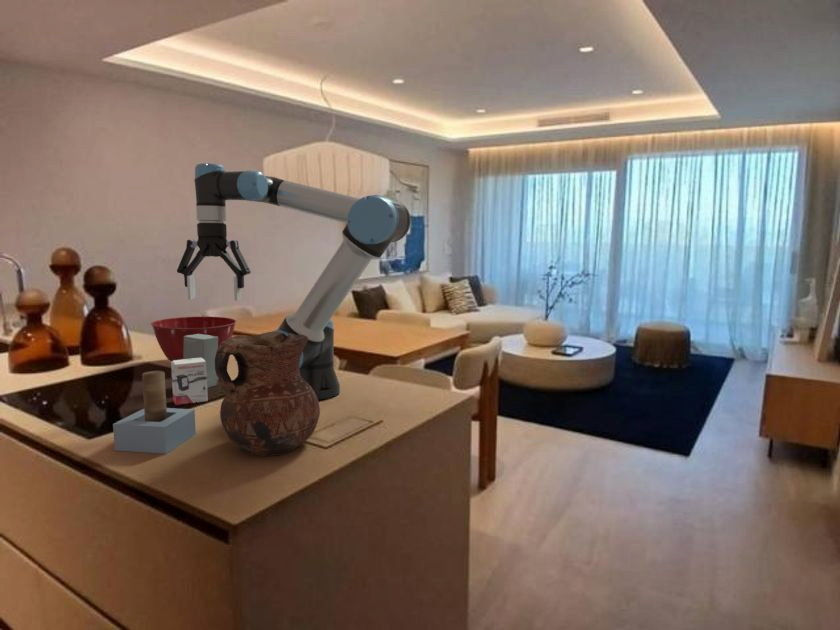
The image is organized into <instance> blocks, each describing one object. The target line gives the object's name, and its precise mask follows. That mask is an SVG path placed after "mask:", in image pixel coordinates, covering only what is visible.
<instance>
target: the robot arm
mask: <svg viewBox="0 0 840 630" xmlns="http://www.w3.org/2000/svg"><path fill="white" fill-rule="evenodd" d="M194 187H195V188H194V189H195V202H196V206H195V207H196V209H195V210H196V212H195V213H196V221H197V223H196V232H197V234H196V235H197V240H195V239H188V240H186V246H185V247H186V248H185V250H184V252H183V255H182V258H181V260H180V262H179V265H178V267H177V269H176V272H177V273H178V274H181V275H183V278H184V287H186V288H187V300H193V299H196V296H197V295H196V278H195V277H196V275H193V273H194V272H195V270H196V269H197V267H198V266H199V265H200V264H201V263H202V261H203V260H204V259H205V258H206V257H207V258H208V257H214V258H216V257H217V258H218V257H220V258H221V259H222V260H223V261H224V262H225V264H226V265H227V266H228V267H229V268H230V269H231V271H232V272H233V274H235V276H233V290H234V291H233V293H234V294H233V295H234V301H235V302H238V301H242V299H243V298H242V289H244V287H245V276H247V275H250V274H251V269H250V267H249V265H248V263H247V262H246V259H245V257H244V256H243V253H242V251H241V250H240V245H239V241H238V240H235V239H233V240H229V241H228V239H227V237H228V235H227V233H228V232H227V224H226V223H225V222H226V221H227V211H226V210H227V209H226V202H227V201H247V202H254V203H255V202H257V203H264V204H269V205H274V206H277V207H282V208H286V209H290V210H294V211H297V212H302V213H306V214H308V215H309V214H310V215H311V216H316V217H321V218H324V219H328V220H332V221H335V222H339V223H342V224H346V225H345V226H344V228H343V229H342V232H341V235H342V240H343V241H342V242H341V244H340V245H339V247H338V248H337V249H336V251H335V252H334V255H333V256H332V258H330V260H329V262H328V263H327V265H325V267H324V269H323V271H322V272H321V274H320V275H319V277H318V278H317V280H316V282H315V283H314V284H313V286H312V287H311V289H310V291H309V292H308V294H307V295H306V296H305V298H304V299H303V300H302V302H301V304H300V306H298V308H297V310H296V311H295V312H290V313H288V314H287V315H286V316H285V318H284V319H283V320H282V322H281V323H280V325H279V327H278V328H277V329H276V330H273V331H271V332H280V333H283V334H285V335H286V336H288V335H289V333H292V334H295V335H305V336H307V337H308V341H307V343H306V345H305V347H304V349H303V351H302V354H301V357H300V364H299V370H300V375H301V377H302V378H303V379H304V380H305V381H306V382H307V383H308V384H309V385H310V386H311V387H312V389H313V390H314V392H315V394H316V396H317V399H318V401H319V400H327V399H331V398H334V397H336V396H338V395H339V394H340V393H341V386H340V382H339V378H338V376H337V373H336V371H335V366H334V362H335V361H334V356H335V355H334V344H335V342H334V341H335V340H334V338H335V337H334V336H335V333H334V332H335V328H334V322H333V319H332V318H333V316H334V315H335V314H336V312H337V311H338V309H339V308H340V306H341V305H342V303H343V302H344V301H345V299H346V298H347V296H348V294H349V293H350V292H351V291H352V289H353V287H354V286H355V285H356V283H357V281H358V280H359V279H360V277H361V276H362V275H363V273H364V272H365V270H366V269H367V267H368V266H369V264H370V263H371V261H373V260H377V259H380V258H381V257H382V256H383V254H384V253H385V252H386V250H387V249H388V247H389V246H390V245H391V243H396V242H399V241H400V240H402V239H403V238H404V237H405V236H406V235H407V234H408V232H409V231H410V228H411V222H412V221H411V219H412V218H411V215H410V214H411V213H410V212H409V209H408V208H407V207H406V205H405V204H404V203H402V202H401V201H400V200H397V199H395V198H389V197H386V196H383V195H379V194H370V195H366V196H363V197H361V198H359V197H355V196H351V195H347V194H343V193H338V192H335V191H329V190H326V189H322V188H318V187H314V186H310V185H306V184H301V183H298V182H293V181H289V180H284V179H280V178H279V177H275V176H268V175H265V174H264V173H262V171H257V170H256V171H255V170H239V171H237V170H235V171H225V167H224V165H222V164H219V163H207V162H203V163H202V162H201V163H197V164H196V165H195V167H194ZM197 247H198V248H199V250H198V251H197V252H196V254H195V255H194V257H193V254H194V253H195V250H196V248H197ZM227 248H229V249H230V250H231V252H232V255H233V257H234V258H232V256H231V255H230V253H229V252H228V251H227V250H226V249H227ZM192 257H193V259H192ZM191 259H192V260H191ZM234 259H235V260H236V261H235V260H234ZM337 394H338V395H337ZM333 396H334V397H333ZM330 397H331V398H330ZM326 398H327V399H326Z"/></svg>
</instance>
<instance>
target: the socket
mask: <svg viewBox="0 0 840 630" xmlns="http://www.w3.org/2000/svg"><path fill="white" fill-rule="evenodd" d="M166 409H167V419H165V420H163V421H161V422H150V421H145V414H144V408H142V409H140V410H138V411H136V412H134V413H132V414H130V415H128V416H126V417H124V418H122V419H120V420H118V421H116V422H115V423H112V429H113V431H112V432H113V443H114V451H117V452H118V451H119V452H134V453H145V454H147V453H148V454H151V453H152V454H161V455H163V454H164V455H165V454H166V455H167V454H168V453H170V452H171V451H173V450H175V449H176V448H177V447H179V446H180V445H181V444H183V443H185V442H187V440H189V439H191V438H192V437H194V436H195V435H197V434H196V433H197V432H196V429H197V428H196V414H195V413H196V411H195V410H196V409H195V408H194V409H190V408H188V409H187V408H174V407H172V408H171V407H166Z"/></svg>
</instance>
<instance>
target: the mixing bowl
mask: <svg viewBox="0 0 840 630" xmlns="http://www.w3.org/2000/svg"><path fill="white" fill-rule="evenodd" d="M236 323H237V320H236V319H234V318H231V317H230V318H229V317H223V316H182V317H172V318H169V317H168V318H164V319H157V320H154V321H152V322H151V323H150V324H151V326H152V329H153V332H154V336H155V338H156V341H157V343H158V346H159V347H160V349H161V351H162V352H163V354H164V356H165V358H167V360H168V361H170V362H171V361H174V360H182V359H183V352H184V336H187V335H194V334H203V335H210V336H216V337H218V347H219V345H220V344H221V343H222V342H223V341H225V340H226V339H228V338H230V337H233V333H234V329H235V326H236Z"/></svg>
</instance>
